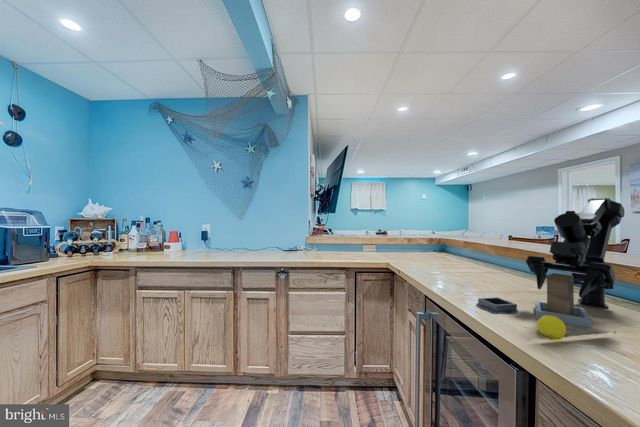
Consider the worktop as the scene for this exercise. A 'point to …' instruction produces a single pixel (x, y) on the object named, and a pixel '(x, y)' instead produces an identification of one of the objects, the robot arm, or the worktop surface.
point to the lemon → (551, 327)
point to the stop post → (560, 294)
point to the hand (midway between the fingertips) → (558, 292)
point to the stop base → (497, 305)
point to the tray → (569, 319)
